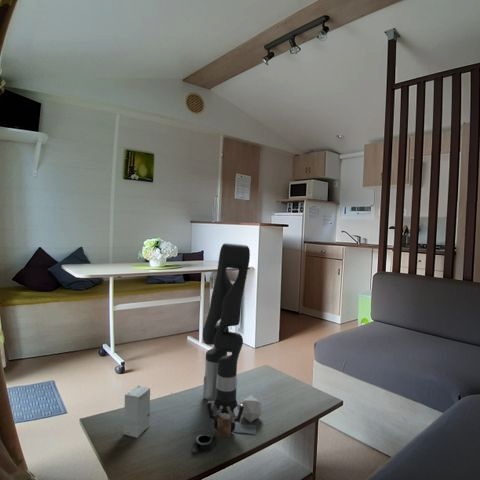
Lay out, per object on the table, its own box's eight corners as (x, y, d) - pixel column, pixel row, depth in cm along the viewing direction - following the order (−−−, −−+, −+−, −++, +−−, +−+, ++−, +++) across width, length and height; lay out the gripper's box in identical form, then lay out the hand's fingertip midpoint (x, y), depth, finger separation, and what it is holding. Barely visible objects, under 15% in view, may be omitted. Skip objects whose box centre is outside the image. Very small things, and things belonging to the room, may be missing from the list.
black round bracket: (221, 451, 119) (221, 443, 119) (192, 457, 115) (192, 449, 115) (214, 438, 126) (214, 430, 126) (187, 443, 123) (187, 435, 122)
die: (265, 423, 137) (265, 396, 143) (253, 420, 131) (253, 392, 137) (247, 424, 142) (248, 397, 147) (235, 421, 136) (236, 393, 141)
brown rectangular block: (216, 435, 128) (217, 419, 127) (218, 428, 131) (219, 413, 131) (230, 436, 127) (231, 420, 127) (231, 429, 131) (232, 414, 131)
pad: (233, 432, 129) (233, 431, 129) (235, 424, 134) (235, 423, 134) (255, 434, 129) (255, 433, 129) (256, 426, 134) (256, 425, 134)
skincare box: (137, 438, 123) (138, 397, 123) (122, 434, 125) (123, 394, 124) (150, 425, 131) (151, 387, 131) (136, 422, 133) (137, 384, 132)
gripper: (205, 388, 125) (203, 434, 126) (245, 392, 124) (242, 438, 125) (209, 379, 133) (207, 422, 134) (246, 382, 131) (244, 426, 132)
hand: (224, 430), depth 129 cm, fingers closed on brown rectangular block, 5 cm apart
